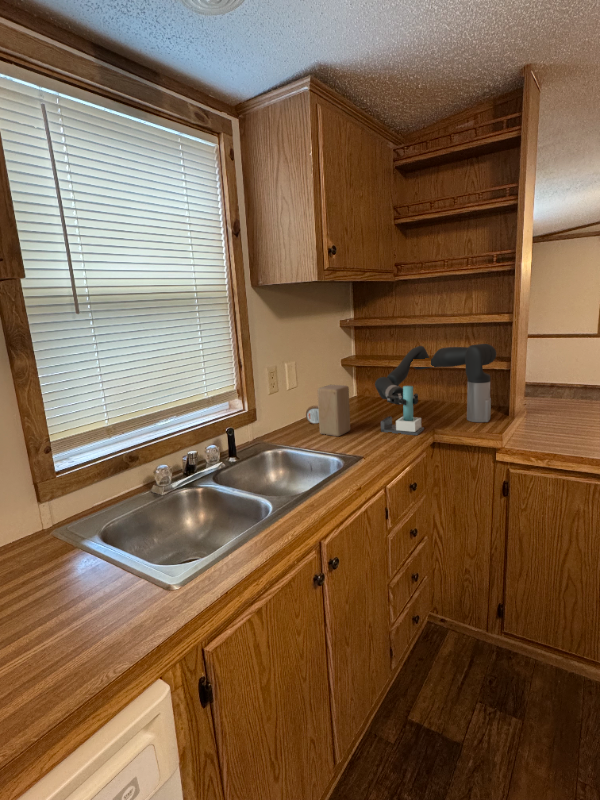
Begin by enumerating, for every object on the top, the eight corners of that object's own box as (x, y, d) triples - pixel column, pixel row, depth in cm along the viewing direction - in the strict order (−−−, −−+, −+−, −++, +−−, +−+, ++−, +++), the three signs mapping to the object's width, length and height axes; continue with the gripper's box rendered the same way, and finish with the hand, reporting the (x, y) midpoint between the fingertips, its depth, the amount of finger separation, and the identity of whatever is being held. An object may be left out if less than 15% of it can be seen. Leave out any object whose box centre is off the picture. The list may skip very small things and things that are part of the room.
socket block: (421, 427, 188) (421, 417, 187) (415, 432, 182) (415, 422, 181) (402, 425, 192) (402, 416, 192) (396, 430, 186) (395, 420, 185)
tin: (338, 422, 209) (337, 404, 208) (338, 423, 206) (337, 405, 205) (306, 423, 211) (305, 405, 209) (305, 424, 208) (304, 407, 206)
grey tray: (423, 429, 188) (423, 419, 187) (417, 435, 181) (417, 424, 180) (388, 426, 197) (388, 416, 196) (380, 431, 189) (380, 421, 188)
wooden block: (338, 437, 185) (336, 389, 181) (318, 434, 191) (316, 388, 187) (351, 431, 193) (349, 385, 189) (331, 428, 199) (329, 384, 195)
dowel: (414, 419, 187) (414, 386, 184) (411, 421, 184) (411, 387, 181) (405, 418, 189) (405, 385, 186) (401, 420, 186) (401, 387, 183)
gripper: (380, 387, 197) (393, 394, 180) (411, 384, 199) (427, 391, 182) (380, 404, 199) (394, 412, 182) (411, 401, 200) (427, 409, 184)
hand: (410, 402), depth 182 cm, fingers closed on dowel, 4 cm apart
